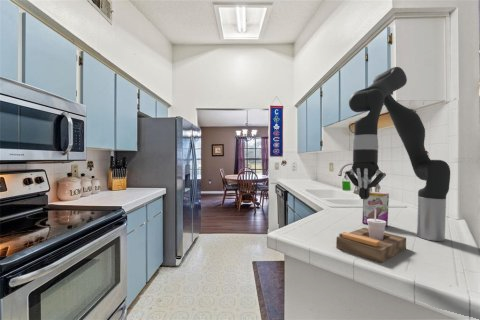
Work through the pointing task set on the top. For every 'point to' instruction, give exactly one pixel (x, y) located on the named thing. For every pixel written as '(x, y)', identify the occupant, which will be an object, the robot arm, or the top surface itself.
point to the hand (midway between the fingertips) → (364, 199)
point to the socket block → (375, 253)
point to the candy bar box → (376, 207)
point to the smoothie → (376, 227)
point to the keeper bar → (360, 239)
